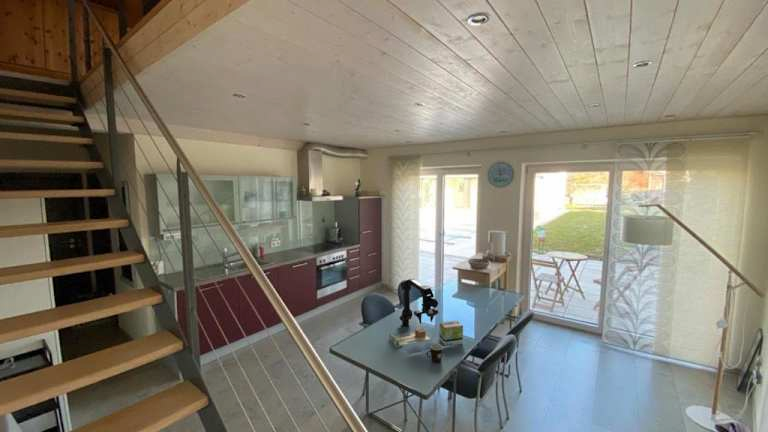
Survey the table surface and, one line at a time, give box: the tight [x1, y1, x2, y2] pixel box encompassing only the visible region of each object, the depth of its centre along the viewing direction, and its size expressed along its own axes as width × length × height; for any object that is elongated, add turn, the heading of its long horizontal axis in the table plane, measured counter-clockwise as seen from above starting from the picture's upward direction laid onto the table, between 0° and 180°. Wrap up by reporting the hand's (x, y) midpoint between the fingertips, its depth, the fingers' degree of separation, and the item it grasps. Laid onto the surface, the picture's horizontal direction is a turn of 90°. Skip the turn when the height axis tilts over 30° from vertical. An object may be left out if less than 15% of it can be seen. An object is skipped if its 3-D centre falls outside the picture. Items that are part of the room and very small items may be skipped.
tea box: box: [438, 320, 464, 347], centre depth 247 cm, size 15×10×15 cm
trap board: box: [389, 331, 431, 349], centre depth 251 cm, size 15×28×5 cm, turn 112°
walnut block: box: [414, 327, 427, 338], centre depth 254 cm, size 6×6×5 cm
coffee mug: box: [426, 343, 444, 364], centre depth 222 cm, size 12×9×10 cm
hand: (425, 322), depth 252 cm, fingers open, 9 cm apart
